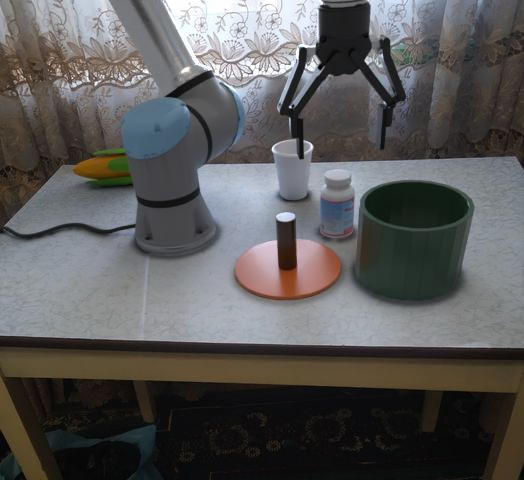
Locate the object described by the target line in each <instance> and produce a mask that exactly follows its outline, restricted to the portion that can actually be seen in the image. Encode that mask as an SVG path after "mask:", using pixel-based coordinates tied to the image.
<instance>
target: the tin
mask: <svg viewBox="0 0 524 480" xmlns="http://www.w3.org/2000/svg"><path fill="white" fill-rule="evenodd" d="M475 208H476V207H475V204H474V201H473V199H472V198H471V197H470V196H469V195H468V194H467V193H466V192H464V191H462V190H460V189H458V188H457V187H454V186H451V185H449V184H445V183H442V182H437V181H432V180H423V179H402V180H393V181H388V182H384V183H381V184H378V185H374V186H373V187H371V188H369V189H368V190H367V191H365V192H364V193H363V194H362V195H361V197H360V198H359V202H358V217H357V218H358V220H357V235H356V236H357V237H356V252H355V264H354V265H355V267H354V268H355V269H354V273H355V276H356V277H357V280H358V281H359V283H360V284H361V285H362V286H363V287H364V288H366V290H369V291H371V292H372V293H374V294H376V295H379V296H381V297H384V298H387V299H393V300H397V301H403V302H407V301H408V302H419V301H427V300H428V301H429V300H434V299H437V298H439V297H443V296H445V295H446V294H448V293H450V292H451V291H452V292H453V291H454V290H455V289H456V288H457V286H458V284H459V281H460V277H461V273H462V268H463V262H464V258H465V253H466V249H467V244H468V240H469V237H470V231H471V226H472V222H473V217H474V214H475Z"/></svg>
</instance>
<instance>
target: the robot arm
mask: <svg viewBox="0 0 524 480" xmlns="http://www.w3.org/2000/svg"><path fill="white" fill-rule="evenodd" d="M318 1H319V2H320V3H321V4H319V5H318V7H317V13H316V14H317V18H316V19H317V39H316V43H315V45H304V44H303V43H298V44H297V46H296V47H295V60H294V63H293V65H292V68H291V71H290V74H289V76H288V78H287V81H286V83H285V85H284V88H283V91H282V93H281V96H280V97H279V101H278V103H277V106H276V108H277V109H276V110H278V114H280V116H286V117H288V119H289V120H288V121H289V124H288V125H289V134H290V136H291V138H292V139H295V140H296V146H297V155H298V157H299V160H301V159H304V141H305V140H304V138H305V137H304V136H305V134H304V133H305V132H304V117H303V115H302V112H303V110H304V109H305V107H306V105H307V104H308V103H309V102H310V100H311V99H312V97H313V96H314V94H315V93H316V92H317V90H318V89H319V87H320V86H321V85H322V83H323V82H325V81H326V80H327V78H328V77H329V76H332V77H340V76H342V75H347V76H352V75H355V73H356V72H358V71H359V72H360V74H361V75H362V76H363V77H364V78H365V80H366V81H367V82H368V83H369V85H370V87H371V88H372V89H373V91H374V92H375V93H376V94H377V95H378V97H379V99H381V101H382V102H383V103H378V104H377V112H376V113H377V116H376V129H375V130H376V131H375V143H374V144H375V146H376V148H378V150H379V151H384V150H385V149H386V148H385V146H386V135H387V134H386V133H387V128H390V127H392V125H393V116H394V109H395V108H396V106H397V104H398V103H400V102H401V103H402V102H405V101H406V99H407V94H406V91H405V89H404V86H403V82H402V81H401V77H400V75H399V73H398V69H397V67H396V65H395V62H394V59H393V57H392V54H391V53H392V51H391V49H392V47H391V38H389V37H388V36H386V35H385V34H380V35H378V37H376V38H370V29H371V28H370V27H371V9H372V5H371V4H370V2H369V1H368V0H318ZM108 2H109V4H110V5H111V7H112V9H113V11H114V12H115V14H116V16H117V18H118V19H119V21H120V23H121V25H122V27H123V29H124V30H125V32H126V34H127V36H128V38H129V39H130V40H131V42H132V44H133V46H134V47H135V50H136V52H137V53H138V54H139V56H140V58H141V59H142V62H143V63H144V65H145V68H146V69H147V70H148V73H149V74H150V76H151V78H152V79H153V82H154V83H155V84H156V86H157V88H158V93H157V98H152V99H151V100H149V101H148V100H144V101H142V102H140V103H138V104H135V105H134V106H132V107H131V108H129V109H128V110H127V111H126V112H125V114H124V115H123V116H122V117H121V121H120V133H121V138H122V139H121V142H122V148H124V151H125V154H126V158H127V162H128V166H129V170H130V174H131V178H132V182H133V184H132V185H133V190H134V193H135V194H134V195H135V197H136V202H137V203H136V204H137V207H136V216H135V223H131V224H126V225H121V226H117V227H114V228H110V229H102V228H97V227H94V226H92V225H89V224H87V223H84V222H69V223H68V222H67V223H62V224H59V225H56V226H53V227H50V228H47V229H44V230H41V231H37V232H33V233H19V232H17V231H16V230H13V229H12V228H10V227H8V226H6V225H4V226H1V227H0V234H2V233H3V232H4V231H6V232H8V233H9V234H11V233H12V234H11V235H13V236H15V238H16V237H17V238H20V239H32V238H38V237H41V236H44V235H47V234H50V233H53V232H55V231H60V230H62V229H66V228H83V229H86V230H89V231H92V232H94V233H98V234H105V235H107V234H108V235H109V234H113V233H117V232H121V231H126V230H132V229H134V236H135V240H136V245H137V246H138V247H139V249H141V250H142V251H144V252H145V253H148V254H149V253H152V254H157V255H178V254H182V253H183V254H185V253H187V252H191V251H194V250H196V249H199V248H201V247H203V246H204V245H206V244H208V243H209V242H210V241H211V240H212V239H213V238H214V236H215V235H216V229H217V228H216V222H215V218H214V216H213V215H212V213H211V211H210V209H209V207H208V205H207V203H206V201H205V199H204V197H203V195H202V192H201V187H200V180H199V173H198V170H199V169H200V168H202V167H203V166H205V165H206V164H208V163H209V162H211V161H213V160H214V159H216V158H217V157H218V156H220V155H223V154H224V153H226V152H227V151H230V149H231V148H232V147H233V146H234V145H235V144H236V143H238V141H239V140H240V138H241V137H242V135H243V133H244V129H245V125H246V112H245V111H246V110H245V107H244V104H243V103H244V102H243V100H242V98H241V97H240V95H239V93H238V92H237V91H236V89H234V87H232V86H231V85H228V84H227V83H226V82H224V81H219V80H218V79H217V76H216V75H215V73H214V71H213V69H212V68H211V67H209V66H206V65H204V64H201V63H200V62H199V61H198V59H197V57H196V56H195V54H194V51H193V50H192V48H191V46H190V44H189V41H188V40H187V38H186V36H185V35H184V32H183V31H182V29H181V27H180V25H179V23H178V21H177V19H176V17H175V15H174V14H173V12H172V10H171V8H170V6H169V4H168V3H167V1H166V0H108ZM372 49H373V52H374V53H375V54H377V55H378V57H379V59H380V62H381V66H382V68H383V70H384V72H385V75H386V77H387V80H388V83H389V86H390V88H391V90H392V93H389V91H388V90H387V89H386V87H385V86H384V85H383V84H382V82H381V81H380V80H379V79H378V77H377V76H376V74H375V73H374V72H373V70H372V69H371V67H370V66H369V65H368V63H367V62H366V61H365V60H366V59H367V57H368V55H369V54H370V52H371V51H372ZM313 56H315V57H316V58H317V60H318V61H319V62H318V64H317V65H316V66H315V68H314V70H313V72H312V74H311V75H310V77H309V79H308V80H307V82H306V83H305V84H304V85H303V87H302V88H301V90H300V92H299V93H298V94H297V96H296V98H295V99H294V97H295V94H296V91H297V89H298V87H299V84H300V82H301V79H302V77H303V74H304V72H305V69H306V66H307V64H308V63H310V61H311V60H312V57H313ZM292 101H293V102H292ZM3 229H5V230H3Z"/></svg>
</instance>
